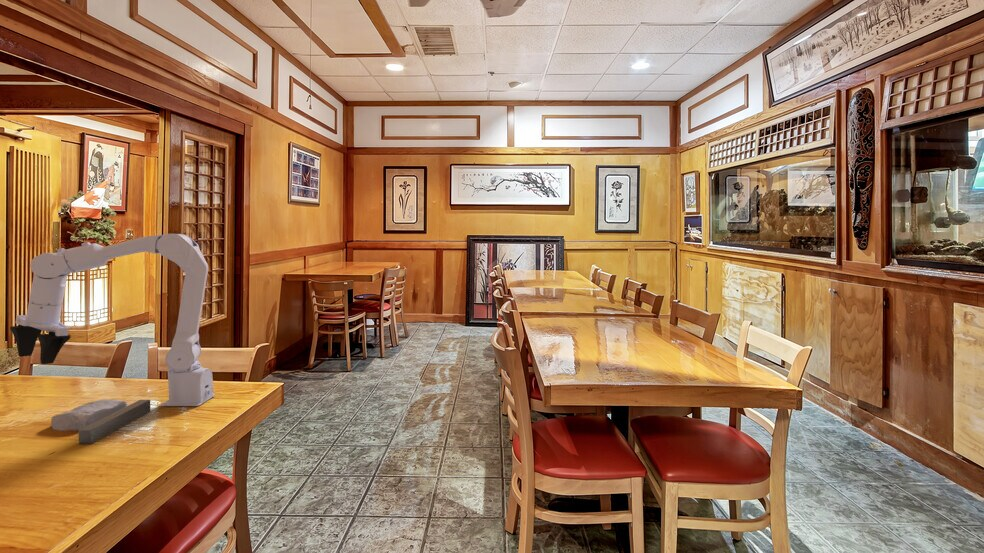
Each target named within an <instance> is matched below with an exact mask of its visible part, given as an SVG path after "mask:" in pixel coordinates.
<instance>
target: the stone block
mask: <svg viewBox="0 0 984 553" xmlns="http://www.w3.org/2000/svg"><path fill="white" fill-rule="evenodd" d="M126 406H128V404H127V401H126V400H120V399H109V398H105V399H99V400H96V401H91V402H87V403H85V404H82V405H79V406H77V407H74V408H73V409H71V410H69V411H65V412H62V413H60V414H56V415H54V416H52V417H51V419H50V420H51V421H50V425H51V428H52V430H54V431H78V430H80V429H82V428H84V427H86V426H88V425H90V424H92V423H94V422H96V421H98V420H100V419H102V418H104V417H106V416H108V415H110V414H112V413H114V412H116V411H118V410H120V409H122V408H124V407H126Z"/></svg>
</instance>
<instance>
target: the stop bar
mask: <svg viewBox="0 0 984 553" xmlns="http://www.w3.org/2000/svg"><path fill="white" fill-rule="evenodd" d="M151 410H152V409H151V399H139V400H137V401H135V402H132V403H130V404H127V406H126V407H124V408H122V409H120V410H118V411H116V412H114V413H112V414H110V415H108V416H106V417H104V418H102V419H100V420H98V421H96V422H94V423H92V424H90V425H88V426H86V427H84V428H82V429H80V430H77V432H78V445H92V444H94V443H96V442H98V441H100V440H101V439H104V438H105V437H107V436H108V435H111V434H112V433H114V432H116V431H118V430H120V429H122V428H123V427H125V426H127V425H129V424H130V423H132V422H134V421H136V420H138V419H139V418H141V417H143V416H145V415H148V413H151Z"/></svg>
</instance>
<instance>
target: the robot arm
mask: <svg viewBox="0 0 984 553" xmlns="http://www.w3.org/2000/svg"><path fill="white" fill-rule="evenodd" d="M200 249H201V248H200V246H199V244H198V243H197V242H196V241H195V240H194V239H193V238H191V236H189V235H187V234H184V233H167V234H156V235H148V236H147V235H146V236H143V237H138V238H133V239H130V240H127V241H126V240H125V241H123V242H119V243H114V244H111V245H107V246H103V245H101V244H98V243H96V242H95V243H94V242H93V243H91V242H89V241H87V242H86V241H85V242H82V243H81V246H76V247H71V248H68V249H65V248H58V249H57V250H56V251H57V252H43V253H41V254H38V255H36V256H34V257H33V258H32V260H31V261H30V269H31V272H32V273H33V277H32V283H31V288H30V294H29V299H28V300H29V301H28V306H27V311H26V314H25V315H24V314H23V315H22V314H21V315H19V314H18V315H16V318H15V324H17V325H12V326H10V327H9V330H10V331H11V333H12V335H13V337H14V340H15V343H16V349H17V354H18V357H19V358H20V357H21V358H22V357H29V356H32V354H33V352H34V351H35V348H36V343H37V340H38V341H39V345H40V357H39V358H40V360H39V362H40V364H41V365H47V364H48V365H49V364H54V363H55V360H56V358H57V356H58V354H59V352H60V351H61V350H62V348H63V346H64V345H65V344H66V343H67V342H68V341H69V340H70V339H71V337H72V335H71V334H69V329H70V327H68V326H67V325H65V324H63V323H62V322H61V320H60V319H61V315H62V314H61V313H62V309H63V302H64V297H65V291H66V286H67V284H66V283H67V279H68V276H69V275H70V274H75V273H79V272H83V271H89V270H92V269H96V268H101V267H104V266H106V265H107V263H108V262H109V260H110V259H114V258H119V257H124V256H130V255H135V254H139V253H140V254H141V253H144V252H147V253H150V254H160V255H161V256H162V257H164V258H165V259H167V260H170V261H171V262H173V263H175V264H176V265H177V266H179V268H180V269H181V270H183V272H184V273H185V274H184V281H183V285H182V286H183V287H182V293H181V299H180V305H179V312H178V316H177V317H178V318H177V324H176V330H175V334H174V336H173V339H172V341H171V342H172V344H171V347H170V349H169V351H167V353H166V354H165V357H164V358H165V359H164V361H165V365H166V366H167V383H168V384H167V385H168V386H167V388H168V400H166V401H164V402H162V403H161V404H160V406H161V407H198V406H200V405H202V404H204V403H206V402H207V401H209V400H210V399H212V398H213V397H215V396H216V394H215V393H214V379H213V378H214V377H213V372H212V370H211V369H210V368H208V367H207V368H206V367H203V366H202V364H201V362H200V361H199V360H198V359H199V357H200V356H201V354H202V347H201V345H200V334H199V330H200V324H201V318H202V311H203V310H202V309H203V305H204V298H205V292H206V286H207V280H208V273H209V264H208V263H207V261H206V259H205V257H204V255H203V253H202V251H201V250H200ZM42 331H43V332H47V333H42Z"/></svg>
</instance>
